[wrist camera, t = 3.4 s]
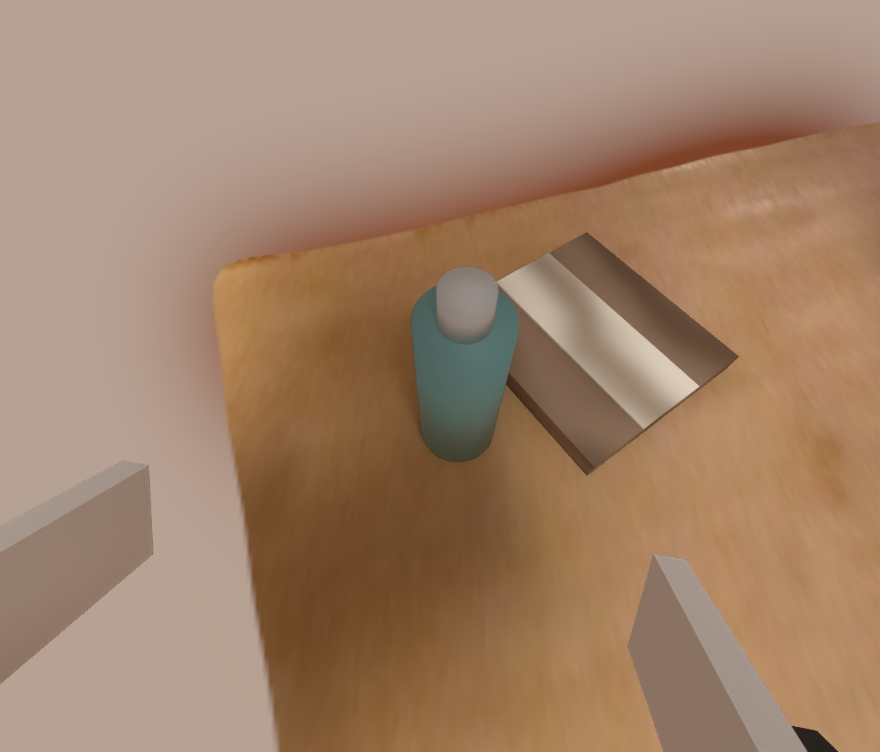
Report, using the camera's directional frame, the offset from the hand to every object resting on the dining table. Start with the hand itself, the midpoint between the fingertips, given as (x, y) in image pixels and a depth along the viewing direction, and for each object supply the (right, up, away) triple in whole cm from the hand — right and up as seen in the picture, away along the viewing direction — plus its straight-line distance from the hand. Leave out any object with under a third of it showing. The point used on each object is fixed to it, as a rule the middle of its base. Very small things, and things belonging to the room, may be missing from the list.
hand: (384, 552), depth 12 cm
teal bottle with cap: (+2, +1, +17) cm, 17 cm away
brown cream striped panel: (+11, +7, +20) cm, 24 cm away
